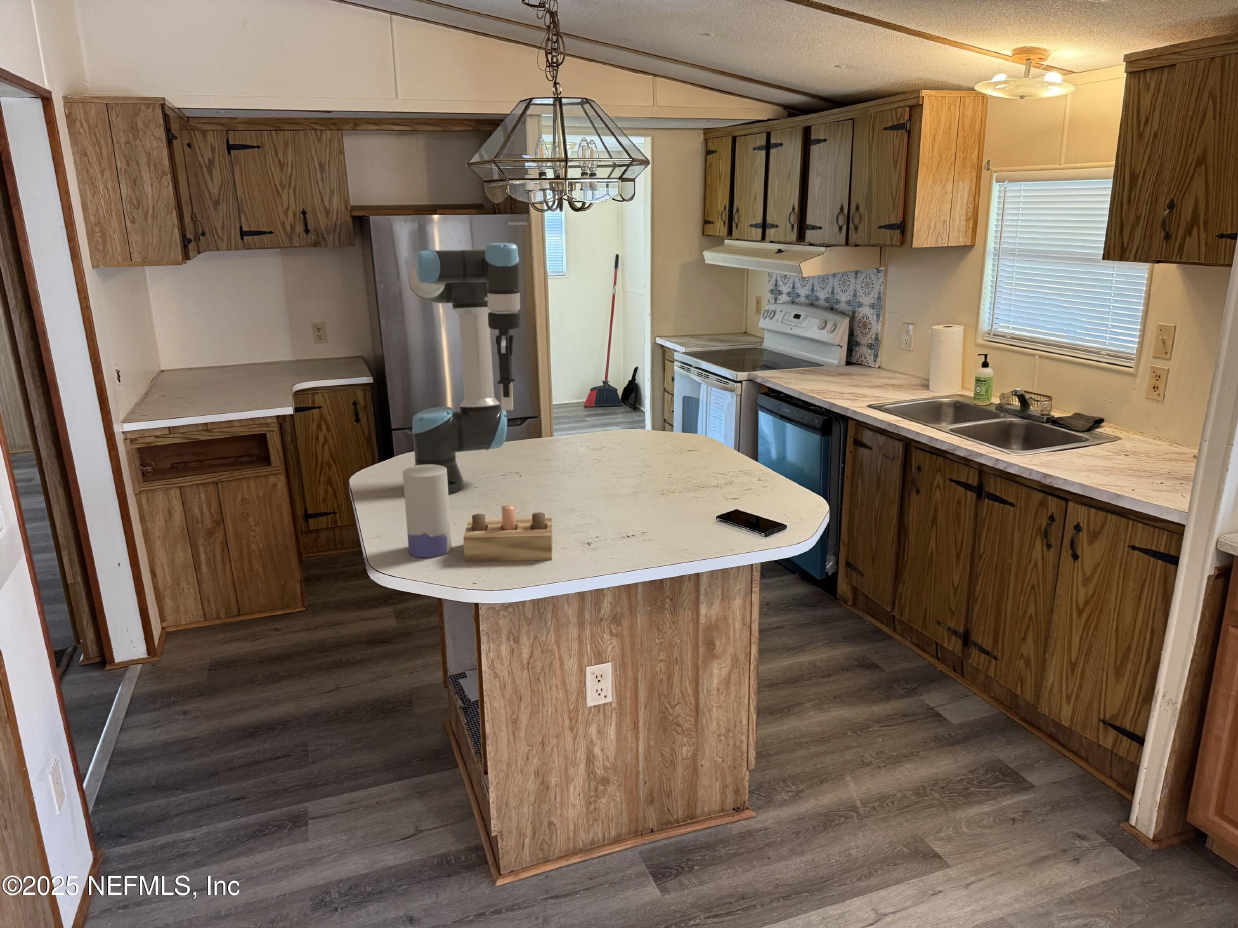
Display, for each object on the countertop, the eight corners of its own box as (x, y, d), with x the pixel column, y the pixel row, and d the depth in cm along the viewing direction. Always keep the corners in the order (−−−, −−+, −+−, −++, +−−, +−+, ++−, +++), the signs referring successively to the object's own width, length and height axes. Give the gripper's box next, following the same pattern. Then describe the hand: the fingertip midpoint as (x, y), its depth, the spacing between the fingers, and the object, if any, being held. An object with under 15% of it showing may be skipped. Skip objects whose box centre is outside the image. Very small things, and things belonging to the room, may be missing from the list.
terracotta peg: (503, 536, 205) (502, 505, 203) (516, 536, 205) (514, 504, 203) (502, 541, 202) (501, 509, 200) (515, 541, 202) (514, 508, 200)
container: (454, 542, 210) (449, 463, 205) (448, 557, 201) (442, 475, 195) (413, 542, 210) (407, 464, 205) (404, 558, 200) (398, 476, 195)
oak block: (470, 542, 210) (468, 519, 208) (552, 540, 211) (551, 517, 209) (464, 561, 198) (463, 537, 197) (551, 559, 200) (551, 535, 198)
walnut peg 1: (474, 545, 205) (472, 513, 203) (486, 545, 205) (485, 513, 203) (473, 550, 202) (471, 518, 200) (485, 549, 203) (484, 517, 200)
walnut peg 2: (533, 544, 206) (532, 512, 204) (545, 543, 206) (544, 512, 204) (532, 548, 203) (531, 516, 201) (545, 548, 203) (544, 516, 201)
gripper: (490, 307, 207) (493, 403, 215) (485, 315, 195) (489, 416, 202) (521, 307, 208) (524, 403, 215) (518, 315, 195) (521, 415, 203)
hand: (507, 409), depth 209 cm, fingers closed
